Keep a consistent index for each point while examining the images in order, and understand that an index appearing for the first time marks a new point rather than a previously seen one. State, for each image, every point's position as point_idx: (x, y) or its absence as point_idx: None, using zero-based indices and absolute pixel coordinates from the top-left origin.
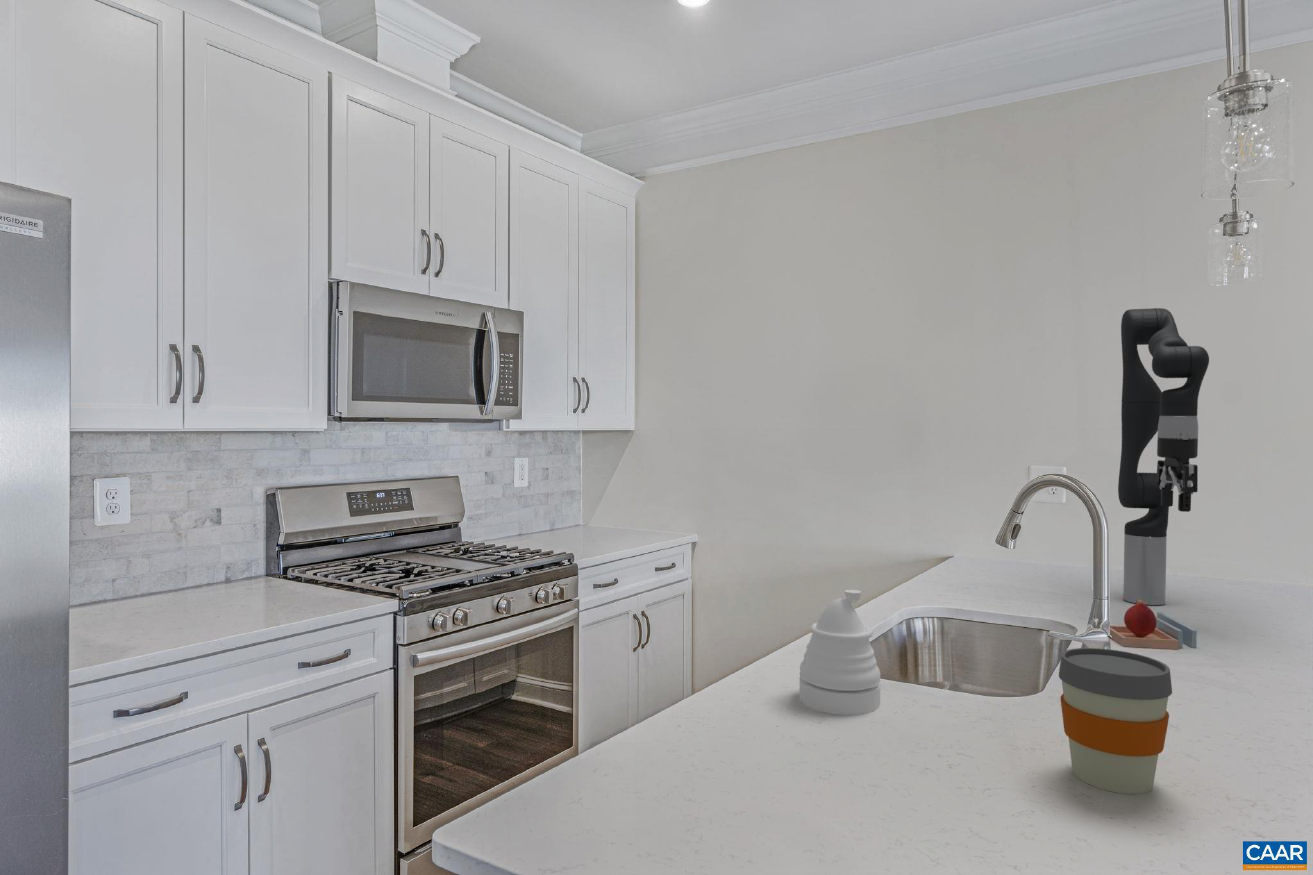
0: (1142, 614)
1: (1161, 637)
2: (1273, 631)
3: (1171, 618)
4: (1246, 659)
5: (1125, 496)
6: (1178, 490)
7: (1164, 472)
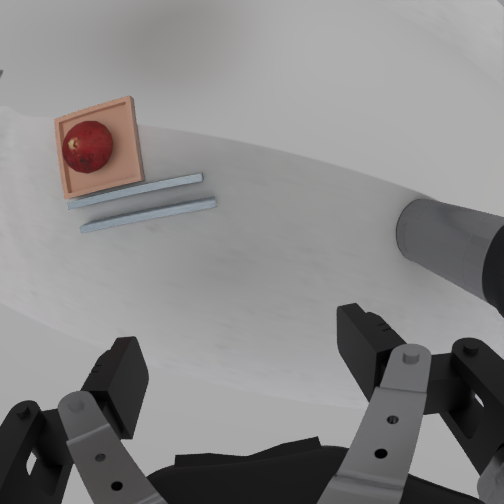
0: (62, 147)
1: (109, 182)
2: (259, 366)
3: (163, 213)
4: (60, 278)
5: None
6: (91, 405)
7: (330, 484)
